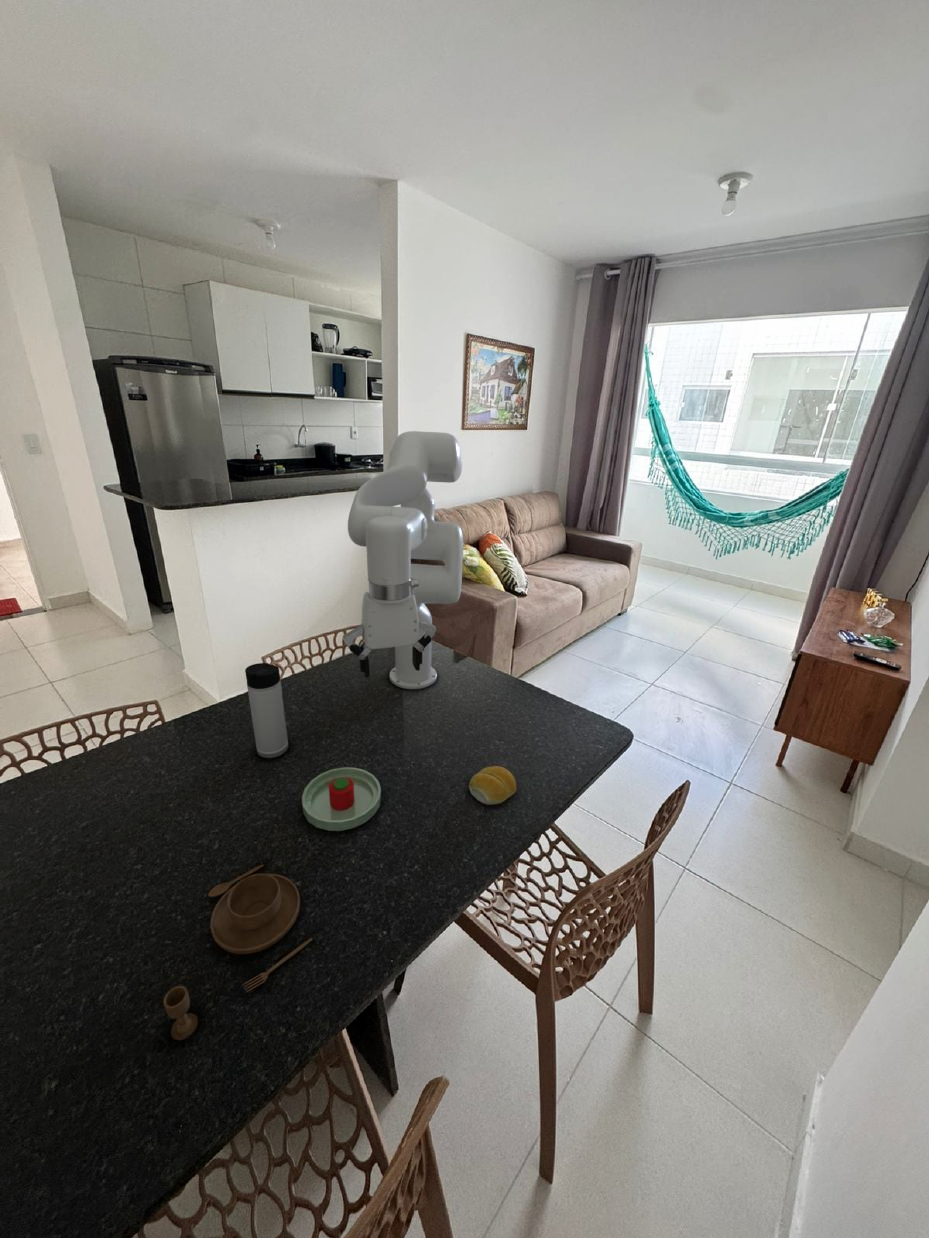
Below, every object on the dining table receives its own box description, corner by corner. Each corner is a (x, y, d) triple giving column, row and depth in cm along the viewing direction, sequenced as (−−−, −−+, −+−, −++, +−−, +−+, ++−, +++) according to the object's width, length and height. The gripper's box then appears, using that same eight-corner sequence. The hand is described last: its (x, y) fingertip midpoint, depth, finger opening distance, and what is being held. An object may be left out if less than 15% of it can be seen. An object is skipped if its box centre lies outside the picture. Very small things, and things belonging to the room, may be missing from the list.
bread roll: (523, 789, 100) (525, 773, 99) (493, 812, 94) (495, 796, 93) (491, 768, 105) (492, 752, 104) (461, 789, 99) (462, 773, 98)
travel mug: (249, 754, 106) (235, 670, 98) (271, 736, 112) (260, 656, 104) (273, 763, 104) (261, 678, 96) (294, 744, 110) (285, 662, 102)
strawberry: (328, 796, 95) (327, 776, 94) (352, 791, 97) (351, 772, 95) (331, 813, 92) (329, 793, 90) (356, 807, 93) (355, 788, 91)
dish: (300, 786, 98) (299, 775, 97) (373, 771, 103) (373, 761, 102) (306, 841, 86) (304, 830, 85) (387, 822, 91) (387, 811, 90)
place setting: (328, 931, 72) (325, 902, 70) (178, 1050, 59) (168, 1019, 56) (267, 858, 83) (263, 831, 81) (128, 944, 69) (118, 915, 67)
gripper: (431, 576, 96) (430, 655, 104) (337, 584, 91) (343, 666, 98) (442, 591, 90) (440, 674, 97) (342, 600, 85) (348, 687, 92)
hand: (391, 670), depth 98 cm, fingers open, 9 cm apart
